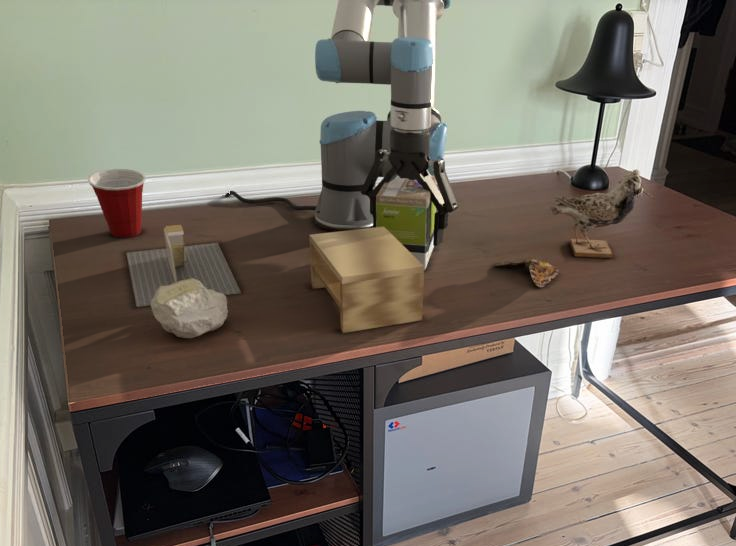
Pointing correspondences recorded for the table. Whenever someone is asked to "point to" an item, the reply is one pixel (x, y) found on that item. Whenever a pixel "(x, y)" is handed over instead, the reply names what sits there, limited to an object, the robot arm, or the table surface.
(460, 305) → the table surface
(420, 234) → the tea box
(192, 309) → the white rock
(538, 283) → the butterfly model
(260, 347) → the table surface
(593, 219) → the stuffed bird
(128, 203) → the plastic cup
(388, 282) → the birch shelf
